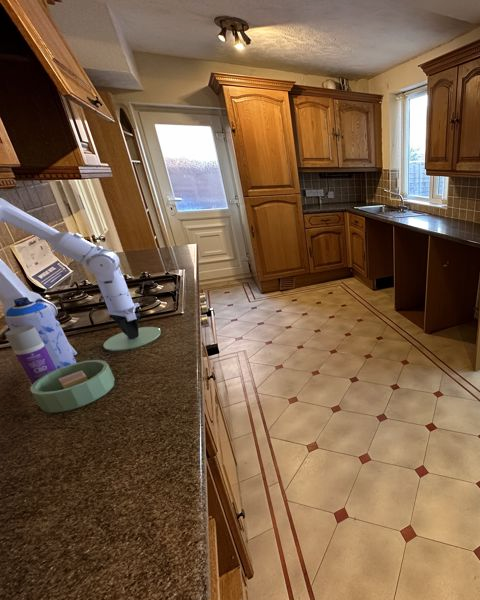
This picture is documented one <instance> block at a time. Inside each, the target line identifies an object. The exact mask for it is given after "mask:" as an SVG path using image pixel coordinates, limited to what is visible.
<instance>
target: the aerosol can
mask: <svg viewBox="0 0 480 600" xmlns="http://www.w3.org/2000/svg"><path fill="white" fill-rule="evenodd" d="M14 303H15V305H14V306H12V307H11V308H10V309H8V311H7V313H6V314H5V315H4V314H3V317H4V322H5V323H6V325H7V326H8V328H9V330H12V329H15V328H18V327H23V326H34V327H35V329H36V331H37V332H38V334H39V336H40V338H41V339H42V341H43V343H44V345H45V346H46V348H47V350H48V352H49V354H50V356H51V358H52V360H53V362H54V364H55V366H56V368H57V369H59V368H62V367H65V366H67V365H70V364H74V363H77V361H76V358H75V355H73V354H72V352H71V350H70V348H69V346H68V344H67V342H66V340H65V338H64V336H63V334H62V331H61V329H60V327H59V325H58V323H57V321H58V320H57V318H56V317H54V315H53V313H52V311H51V309H50V308H49V307H48V306H47V305H44V304H42V303H40V302H34V301H29V299H28V298H27V297H23V298H19V299H15V300H14ZM56 320H57V321H56Z"/></svg>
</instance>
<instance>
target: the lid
mask: <svg viewBox="0 0 480 600" xmlns="http://www.w3.org/2000/svg"><path fill="white" fill-rule="evenodd" d="M138 331H139V336H138V337H135V338H132V339H130V338H129V337H128V336H126V335H127V334H126V335H125V334H124V332H123V331H122V332H120V333H118V334H115V335H113V336H110V337H109V338H108V339H107V340H106V341H105V342H104V343H103V348H104V349H105V350H106V351H110V352H122V351H127V350H133V349H136V348H139V347H142V346H144V345H147V344H150V343H151V342H153V341H155V340H156V339H158V338H159V337H160V335H161V334H162V331H161V328H159V327H156V326H144V327H138Z"/></svg>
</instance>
